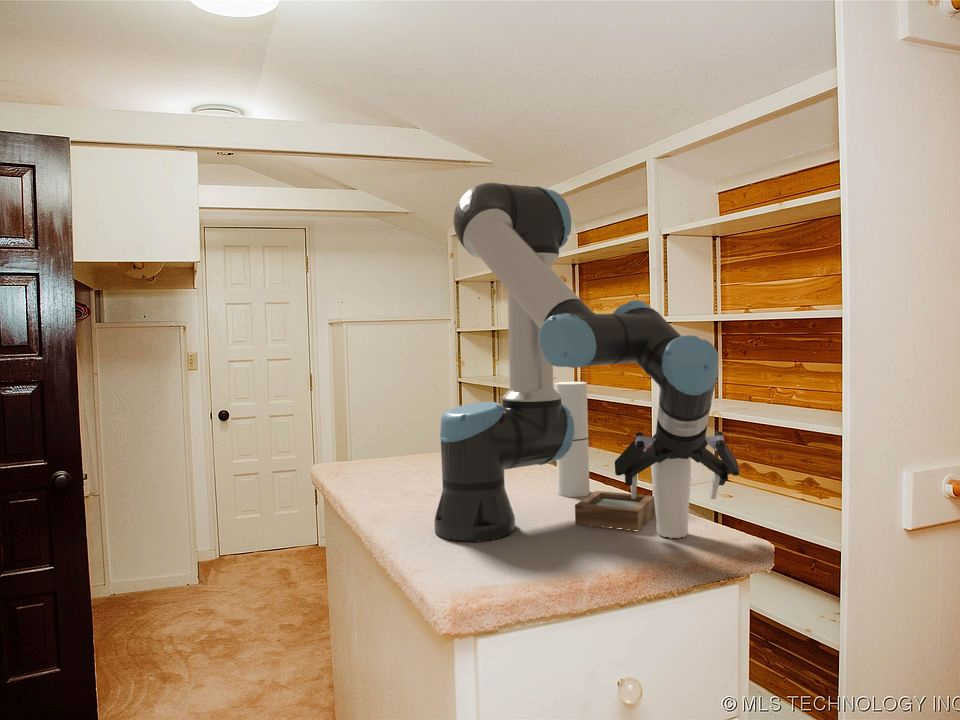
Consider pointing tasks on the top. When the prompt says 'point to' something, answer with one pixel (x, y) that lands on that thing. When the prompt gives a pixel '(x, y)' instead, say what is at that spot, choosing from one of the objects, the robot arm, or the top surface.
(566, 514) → the top surface
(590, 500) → the wooden tray
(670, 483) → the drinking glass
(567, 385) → the cylindrical container
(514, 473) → the top surface
